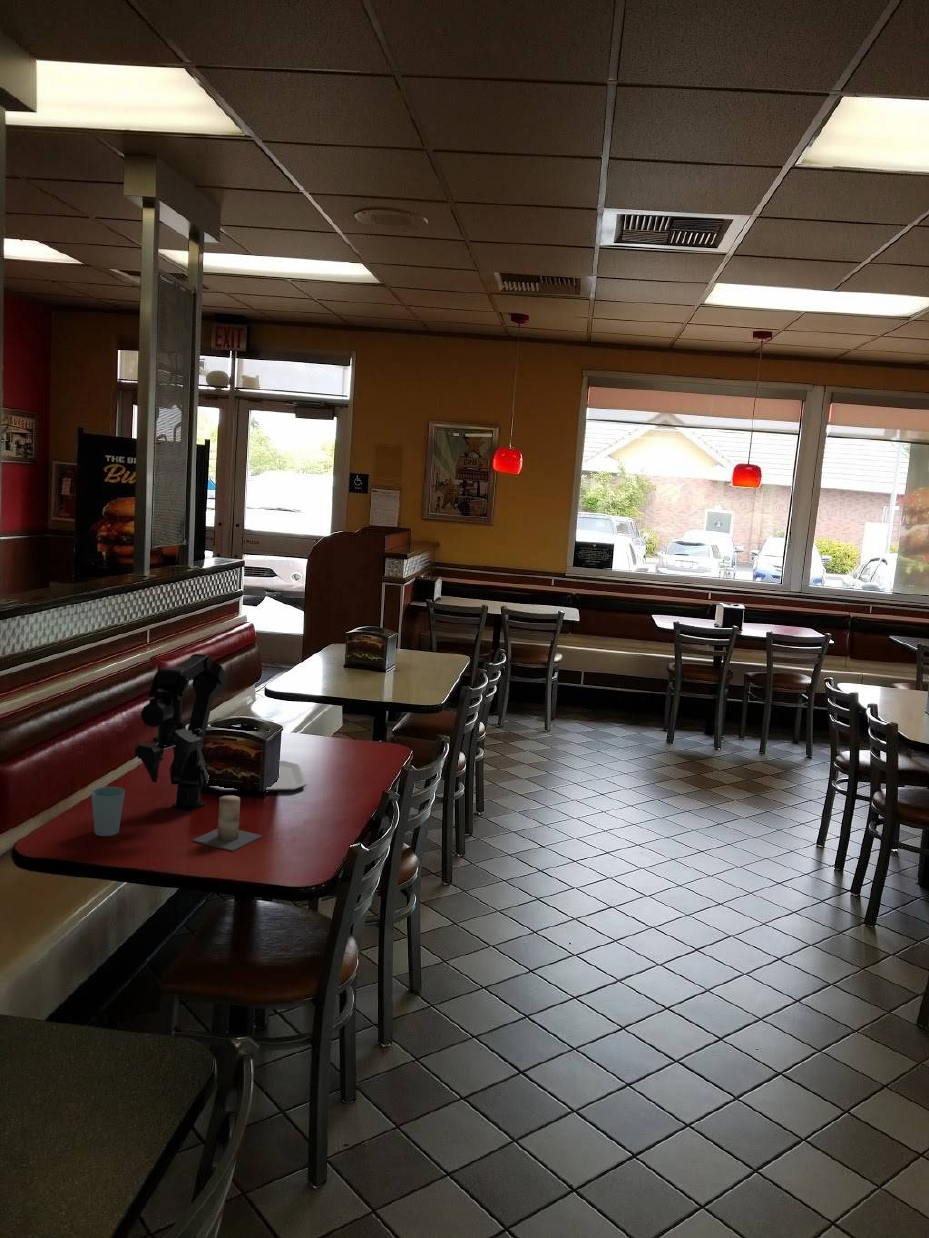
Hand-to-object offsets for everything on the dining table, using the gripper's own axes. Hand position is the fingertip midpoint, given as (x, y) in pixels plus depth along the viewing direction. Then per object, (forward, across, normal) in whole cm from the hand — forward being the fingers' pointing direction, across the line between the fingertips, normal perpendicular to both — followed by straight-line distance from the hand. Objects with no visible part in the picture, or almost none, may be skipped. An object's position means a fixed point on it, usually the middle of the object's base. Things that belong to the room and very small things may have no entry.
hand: (167, 777), depth 242 cm
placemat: (+12, 0, -20) cm, 23 cm away
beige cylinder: (+12, 0, -19) cm, 23 cm away
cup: (+12, -13, +7) cm, 19 cm away
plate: (+12, +44, +4) cm, 46 cm away
